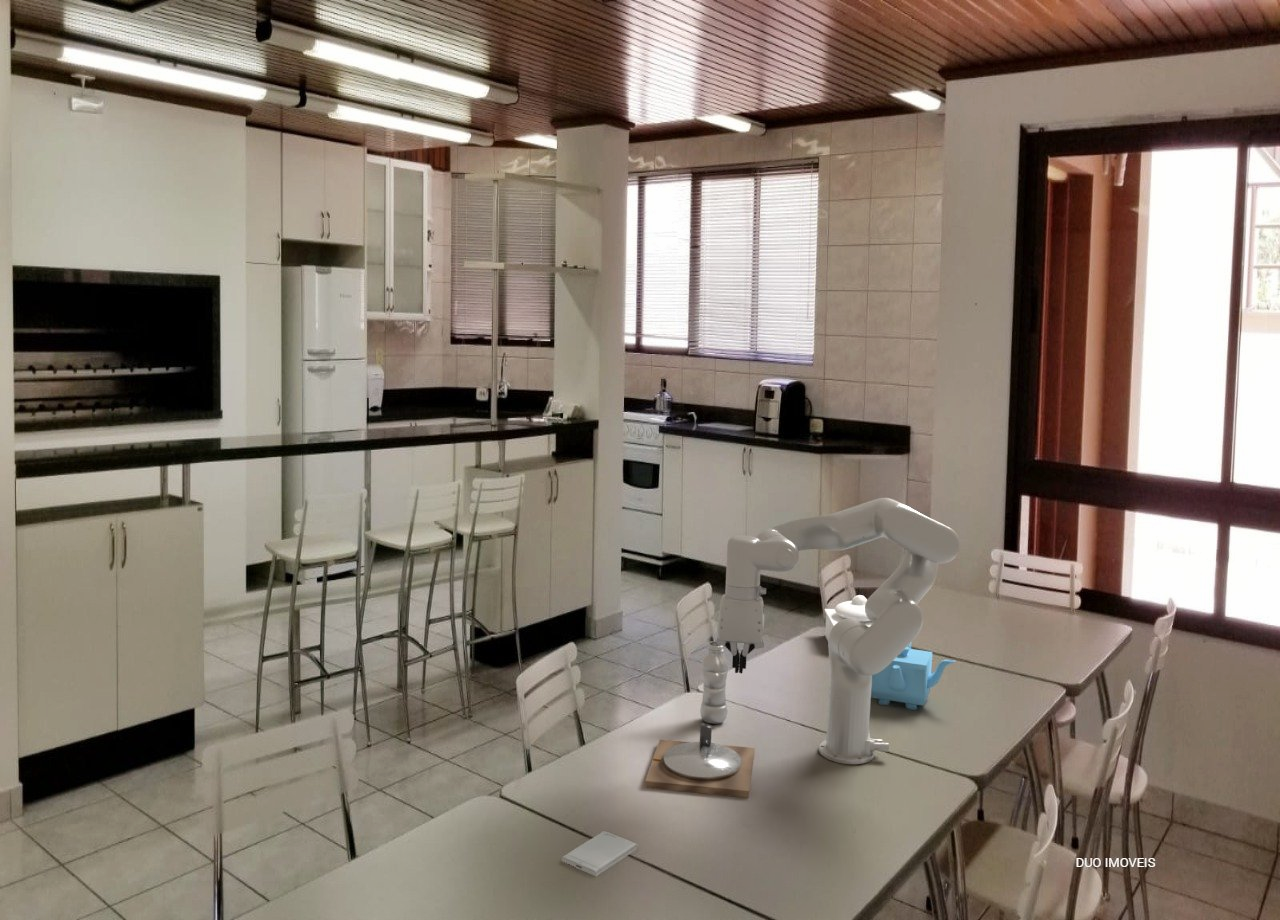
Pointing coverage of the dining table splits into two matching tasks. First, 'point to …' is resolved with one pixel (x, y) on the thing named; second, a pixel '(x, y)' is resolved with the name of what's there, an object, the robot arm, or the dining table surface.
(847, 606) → the butter dish
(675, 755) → the dial
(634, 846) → the hard drive
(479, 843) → the dining table surface
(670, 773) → the dial base
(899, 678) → the teakettle
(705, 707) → the plastic bottle
